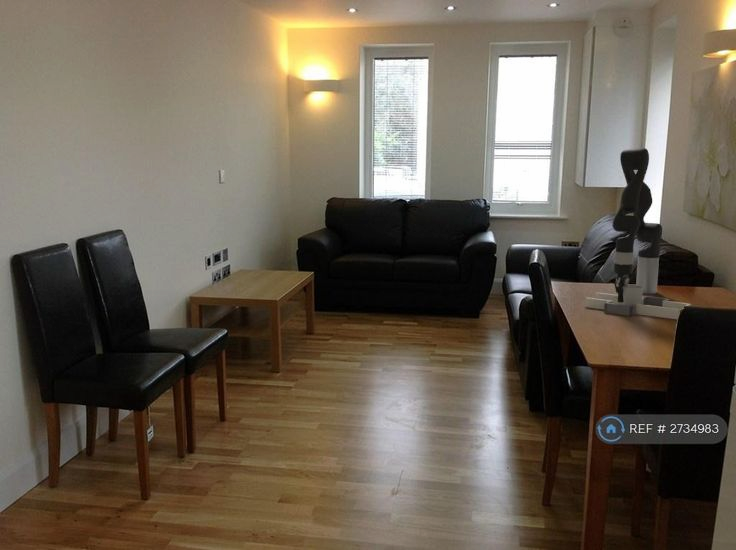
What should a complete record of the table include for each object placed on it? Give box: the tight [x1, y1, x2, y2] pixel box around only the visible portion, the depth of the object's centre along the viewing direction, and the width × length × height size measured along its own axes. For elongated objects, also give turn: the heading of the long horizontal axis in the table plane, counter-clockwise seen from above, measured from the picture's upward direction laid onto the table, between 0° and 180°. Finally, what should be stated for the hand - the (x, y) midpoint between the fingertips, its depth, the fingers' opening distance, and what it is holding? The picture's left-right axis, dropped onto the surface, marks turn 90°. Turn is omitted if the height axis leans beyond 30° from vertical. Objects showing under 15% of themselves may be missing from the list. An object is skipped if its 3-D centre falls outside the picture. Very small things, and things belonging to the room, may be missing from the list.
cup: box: [623, 284, 644, 306], centre depth 273 cm, size 8×8×10 cm
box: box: [584, 292, 692, 320], centre depth 273 cm, size 25×39×4 cm, turn 52°
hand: (620, 302), depth 277 cm, fingers closed
